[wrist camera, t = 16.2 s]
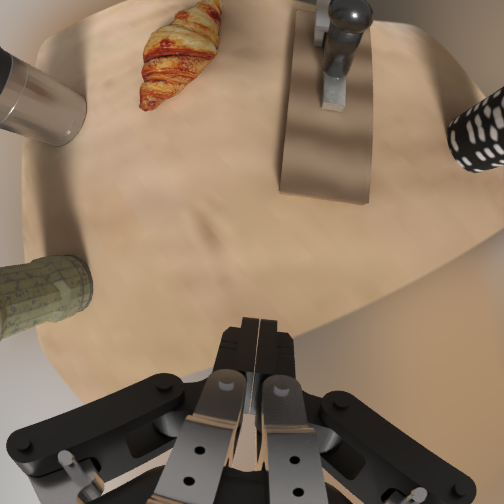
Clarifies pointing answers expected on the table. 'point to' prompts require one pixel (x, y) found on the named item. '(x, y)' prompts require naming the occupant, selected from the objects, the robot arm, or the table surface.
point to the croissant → (179, 52)
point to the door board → (327, 120)
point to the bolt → (342, 47)
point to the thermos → (42, 292)
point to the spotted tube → (479, 135)
